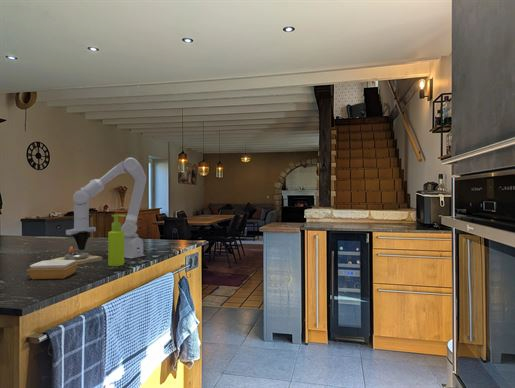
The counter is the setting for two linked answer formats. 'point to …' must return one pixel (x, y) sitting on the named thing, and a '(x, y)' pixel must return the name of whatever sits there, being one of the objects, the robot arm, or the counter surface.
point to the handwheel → (75, 254)
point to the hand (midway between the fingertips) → (81, 249)
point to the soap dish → (52, 269)
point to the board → (84, 260)
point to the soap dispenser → (116, 243)
